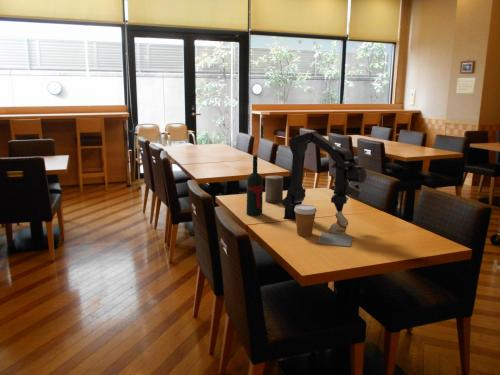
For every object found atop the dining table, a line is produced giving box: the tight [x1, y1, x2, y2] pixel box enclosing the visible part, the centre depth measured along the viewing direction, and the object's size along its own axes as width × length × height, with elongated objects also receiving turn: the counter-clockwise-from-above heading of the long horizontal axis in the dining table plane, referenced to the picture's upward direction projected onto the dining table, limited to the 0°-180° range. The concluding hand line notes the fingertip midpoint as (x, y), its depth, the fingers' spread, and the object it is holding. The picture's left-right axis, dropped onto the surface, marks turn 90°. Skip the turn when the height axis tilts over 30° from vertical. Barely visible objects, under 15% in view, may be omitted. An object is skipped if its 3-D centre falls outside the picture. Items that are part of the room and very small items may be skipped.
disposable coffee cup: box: [294, 203, 318, 237], centre depth 187 cm, size 10×10×12 cm
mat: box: [316, 232, 353, 248], centre depth 181 cm, size 13×13×1 cm
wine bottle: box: [246, 152, 264, 217], centre depth 214 cm, size 8×10×30 cm
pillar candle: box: [264, 174, 284, 204], centre depth 242 cm, size 10×10×15 cm
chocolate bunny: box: [328, 211, 349, 235], centre depth 189 cm, size 6×8×10 cm
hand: (339, 214), depth 191 cm, fingers closed
